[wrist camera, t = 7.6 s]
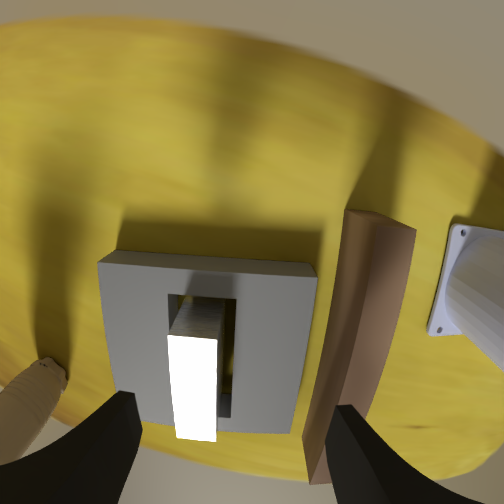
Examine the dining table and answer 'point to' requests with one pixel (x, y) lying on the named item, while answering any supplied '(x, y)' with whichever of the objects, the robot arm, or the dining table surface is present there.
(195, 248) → the dining table surface
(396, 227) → the brown long flat block
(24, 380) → the handle
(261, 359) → the slotted grey plate
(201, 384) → the white wooden block
